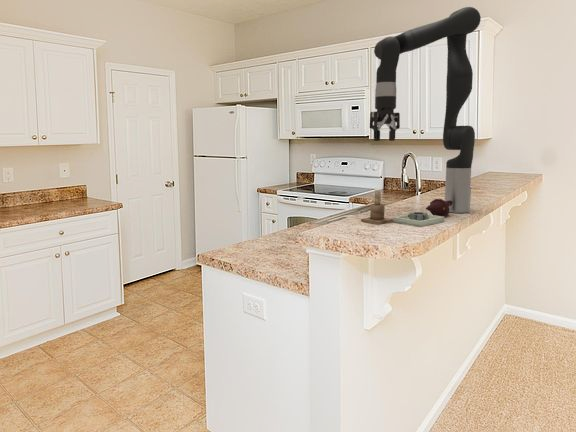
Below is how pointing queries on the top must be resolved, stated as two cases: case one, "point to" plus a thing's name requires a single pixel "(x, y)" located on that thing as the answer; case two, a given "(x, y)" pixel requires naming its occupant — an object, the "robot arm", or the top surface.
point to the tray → (405, 220)
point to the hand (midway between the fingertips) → (384, 140)
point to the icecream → (439, 207)
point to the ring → (418, 216)
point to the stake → (377, 212)
